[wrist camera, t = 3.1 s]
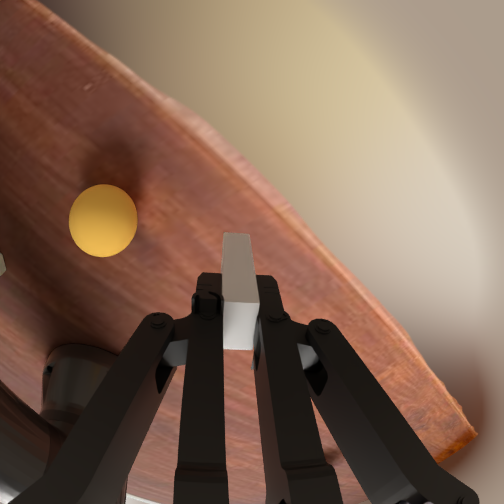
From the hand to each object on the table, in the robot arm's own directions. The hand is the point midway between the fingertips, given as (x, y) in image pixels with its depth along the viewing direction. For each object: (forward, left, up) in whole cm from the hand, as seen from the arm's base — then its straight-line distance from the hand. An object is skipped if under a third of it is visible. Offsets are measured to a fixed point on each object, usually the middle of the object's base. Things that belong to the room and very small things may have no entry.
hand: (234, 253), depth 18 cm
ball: (0, +10, -5) cm, 11 cm away
